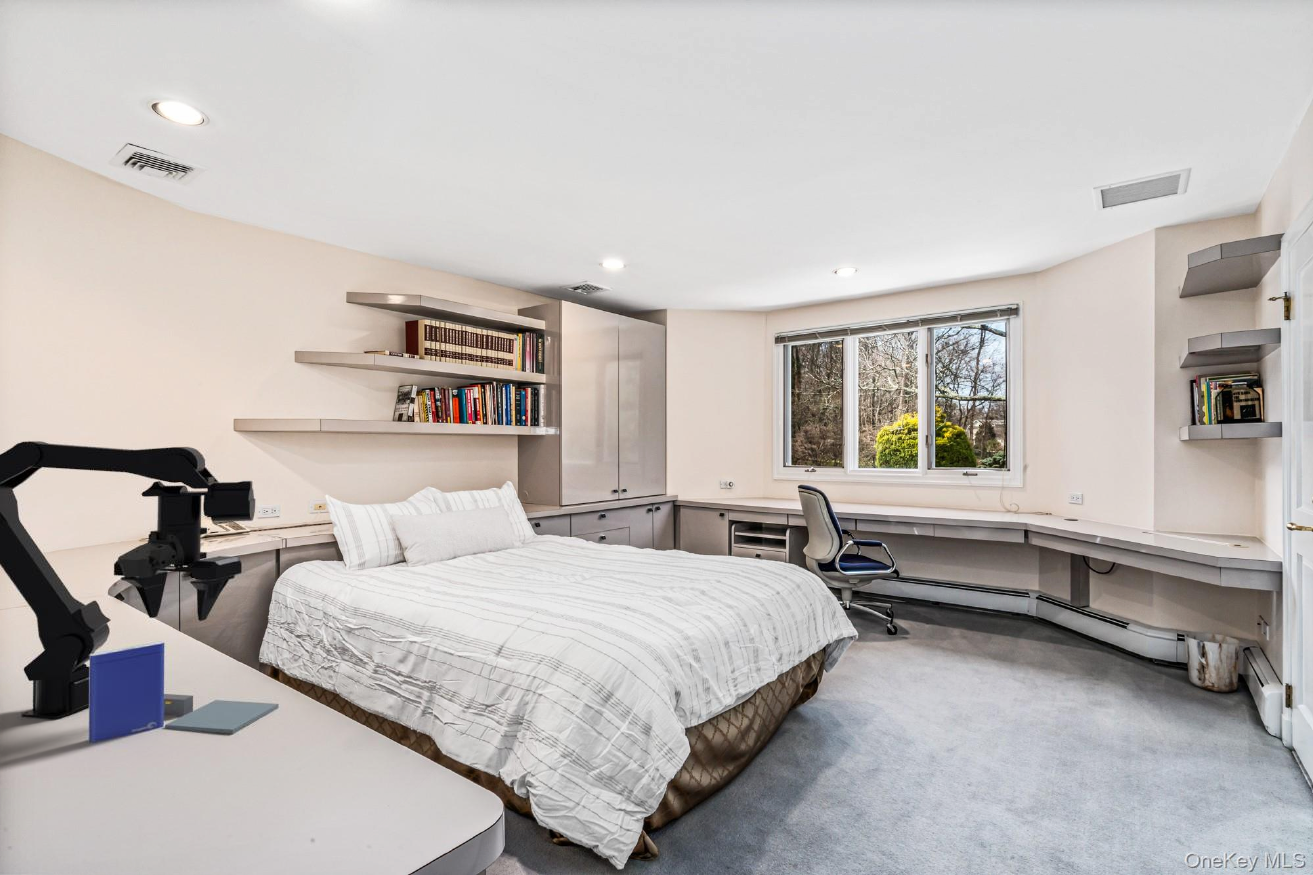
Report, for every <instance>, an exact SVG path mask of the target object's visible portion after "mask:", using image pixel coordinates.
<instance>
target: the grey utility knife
mask: <svg viewBox="0 0 1313 875" xmlns="http://www.w3.org/2000/svg"><path fill="white" fill-rule="evenodd" d="M192 711H194V695H191V694H190V695H189V694H188V695H187V694H174V693H173V694H172V693H164V716H165V715H166V716H167V715H168V716H177V717H178V716H179V717H182V716H184V715H186V714H188V713H190V712H192Z"/></svg>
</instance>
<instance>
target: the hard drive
mask: <svg viewBox="0 0 1313 875" xmlns="http://www.w3.org/2000/svg"><path fill="white" fill-rule="evenodd" d="M88 665H89V666H88V667H89V707H88V743H96V742H98V743H99V742H102V741H106V740H110V739H115V738H119V737H124V736H129V735H133V734H137V733H142V732H147V731H151V730H156V729H160V728H163V727H165V725H164V724H165V721H164V720H165V714H164V694H165V642H164V640H162V641H157V642H150V643H145V644H144V643H143V644H139V645H135V646H134V645H133V646H128V647H121V648H116V649H111V650H106V651H101V652H94V653H93V654H90V660H89V664H88Z"/></svg>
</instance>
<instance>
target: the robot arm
mask: <svg viewBox="0 0 1313 875" xmlns="http://www.w3.org/2000/svg"><path fill="white" fill-rule="evenodd" d="M42 468H48V469H63V470H64V469H65V470H67V469H68V470H77V471H78V470H79V471H94V472H95V471H96V472H113V473H126V474H132V475H136V476H141V477H144V478H147V479H151V480H152V479H153V480H157V481H154V482H153V483H152V484H151V486H149V487H148V488H147V489H146V490H144V491H142V492H141V493H140V494H141V496H142V497H145V498H146V497H147V498H149V497H152V498H153V497H157V524H156V525H157V526H156V528H157V529H156V530H150V531H149V534H148V540H147V542H146V543H143V544H140V545H138V546H136V547H134V548H133V549H131V550H129V551H127V552H125V553H122V554H121V555H119V556H118V557H117V560H116V561H115V562H114V564H113V576H117V577H119V576H121V577H120V580H121V581H123V582H127V583H129V584H131V585H132V586H134V587H135V589H136V591H137V594H139V596H140V599H141V601H142V603H143V606H144V608H145V611H146V613H147V615H148V618H150V619H153V618H156V617H158V615H159V613H160V609H161V604H162V601H163V597H164V596H163V595H164V592H165V586H166V582H167V579H168V578H167V577H168V574H169V572H177V573H190V574H191V576H192V577H193V578H194V579H195V580H190V584H191V585H192V586H193V587H194V588H195V589H196V607H197V608H196V610H197V611H196V613H197V618H198V621H199V622H202V621H205V620H206V619H207V618H208V616H209V614H210V613H211V611H212V609H213V607H214V606H215V604H216V602H217V600H218V598H219V596H220V595H221V592H222V591H223V590H224V589H225V587H226V586H227V584H228V582H229V581H230V580H233V579H235V576H236V575H239V574H242V572H243V571H242V567H243V566H242V560H241V559H240V558H239V557H238V556H228V555H226V556H225V555H223V556H221V555H218V556H214V557H209V558H208V557H207V556H208V554H207V553H208V552H207V551H201V548H202V547H201V545H202V544H201V543H202V542H201V541H202V540H201V536H202V535H206V534H208V527H202V522H201V521H202V507H203V515H204V517H206V518H210V519H211V522H212V523H220V522H221V523H223V522H224V523H225V522H226V523H227V522H251V521H253V520H254V517H255V514H256V498H255V495H254V494H255V493H254V487H253V481H252V480H242V481H237V482H236V481H234V482H233V481H231V482H230V481H229V482H228V481H227V482H226V481H223V482H221V481H220V482H219V480H218V479H217V478H216V477H215V476H214V475H213V474H212V473H211V471H210V470H209V469H207V467H206V460H205V457H204V456H203V454H202V453H201V452H200V451H199V449H196V448H193V447H189V446H171V447H157V448H143V449H129V448H128V449H127V448H113V447H112V448H111V447H98V446H87V445H73V444H72V445H71V444H60V443H59V444H58V443H48V442H45V441H37V440H36V441H34V440H33V441H29V440H27V441H20V442H18V443H16V444H14V445H13V446H12V447H11V448H9V449H7V450H6V451H4V452H2V453H0V567H1V568H2V570H3V571H4V573H5V574H6V575H7V577H8V578H9V580H10V581H11V583H13V585H14V586H15V588H16V590H17V591H18V592H19V594H21V596H22V597H23V600H25V602H26V603H27V605H28V606H29V608H30V609H31V610H32V611H33V613H34V614H35V617H36V622H37V623H36V624H37V633H38V638H39V640H40V643H41V645H42V648H43V651H42V652H41V653H40V654H38V655H37V656H36V657H35V658H33V659H32V661H30V662H29V663H28V664H27V665H25V667H23V671H24V674H25V676H26V678H27V679H28V681H29V682H32V708H31V709H29V710H26V711H24V712H21V716H20V717H21V718H32V719H33V718H34V719H45V720H46V719H48V720H49V719H50V720H58V719H62V718H63V717H66V716H68V715H71V714H74V713H77V712H79V711H82V710H84V709H86V708H89V666H88V665H87V664H86V663H87V662H89V661H90V654H93V653H96V651H97V650H99V649H101V647H103V646H104V644H105V643H106V642H107V641H108V638H109V636H110V627H109V625H108V623H109V622H111V621H112V620H111V618H109V617H107V616H106V615H105V614H104V613H103V611H102V610H101V607H100V605H99V603H98V602H97V600H92V601H91V602H89V603H87V604H84V602H82V601H79V600H78V599H76V598H75V597H74V596H72V594H71V592H70V591H69V590H68V588H67V586H66V585H65V583H64V582H63V581H62V580H61V578H60V577H59V575H58V574H57V573H56V571H55V569H54V568H53V567H52V566H51V564H50V562H49V560H47V558H46V557H45V555H44V554H43V552H42V551H41V549H40V548H39V546H38V545H37V543H36V542H35V541H34V540H33V538H32V536H31V535H30V534H29V532H28V531H27V529H26V528H25V526H24V525H23V524H22V521H21V519H20V516H19V507H18V506H19V505H18V499H17V497H16V495H15V492H14V489H16V488H17V487H18V486H20V485H22V484H24V482H26V481H27V480H29V479H30V478H31V477H32V476H34V474H36V473H37V472H38V471H39V470H41V469H42ZM162 482H167V483H177V484H178V483H182V484H183V485H165V484H163V483H162ZM188 487H189V488H191V489H193V491H191V490H189V489H188ZM197 489H198V490H197ZM201 489H203V490H204V489H205V490H204V491H201ZM206 489H207V490H206ZM194 490H195V491H194ZM196 490H197V491H196ZM202 496H203V503H202ZM202 504H203V506H202Z"/></svg>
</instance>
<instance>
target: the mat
mask: <svg viewBox="0 0 1313 875" xmlns="http://www.w3.org/2000/svg"><path fill="white" fill-rule="evenodd" d="M277 709H279V703H271V702H269V703H268V702H257V701H256V702H255V701H253V702H252V701H240V700H239V701H237V700H222V699H221V700H220V699H215V700H213V701H211V702H209V703H207V704H205V705H202V706H201V707H199V708H196V709H193V711H192V712H190V713H188V714H186V715H184V716H179V718H176V719H174V720H171V721H170V722H167V723H166V724H165V725H164V729H171V730H172V729H173V730H181V729H184V730H185V731H192V732H202V731H209V732H208V733H215V732H220V733H219V734H232V735H233V734H235V733H237V732H239V731H240V730H242V729H244V728H245V727H248V726H249V725H251V724H252V723H254V722H257V721H258V720H259V719H262V718H263V717H265V716H267V715H268V714H270V713H273V711H275V710H277ZM184 730H183V731H184Z"/></svg>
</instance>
